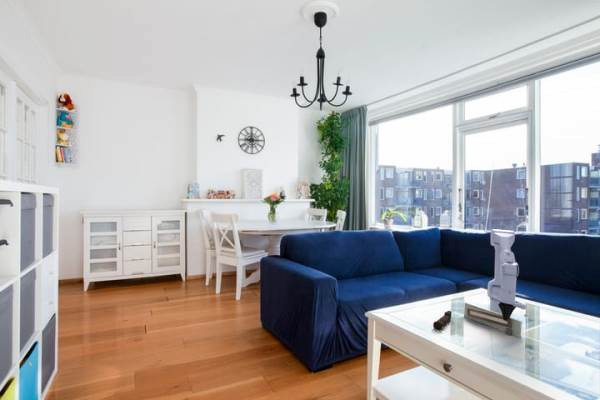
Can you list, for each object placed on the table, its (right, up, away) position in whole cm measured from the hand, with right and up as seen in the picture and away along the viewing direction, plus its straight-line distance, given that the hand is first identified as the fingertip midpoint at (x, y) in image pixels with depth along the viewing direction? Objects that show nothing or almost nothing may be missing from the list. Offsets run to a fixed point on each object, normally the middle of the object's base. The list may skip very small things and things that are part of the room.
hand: (506, 320), depth 148 cm
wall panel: (-3, -5, +8) cm, 10 cm away
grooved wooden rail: (-4, -3, +7) cm, 9 cm away
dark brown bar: (-25, -5, +8) cm, 27 cm away
